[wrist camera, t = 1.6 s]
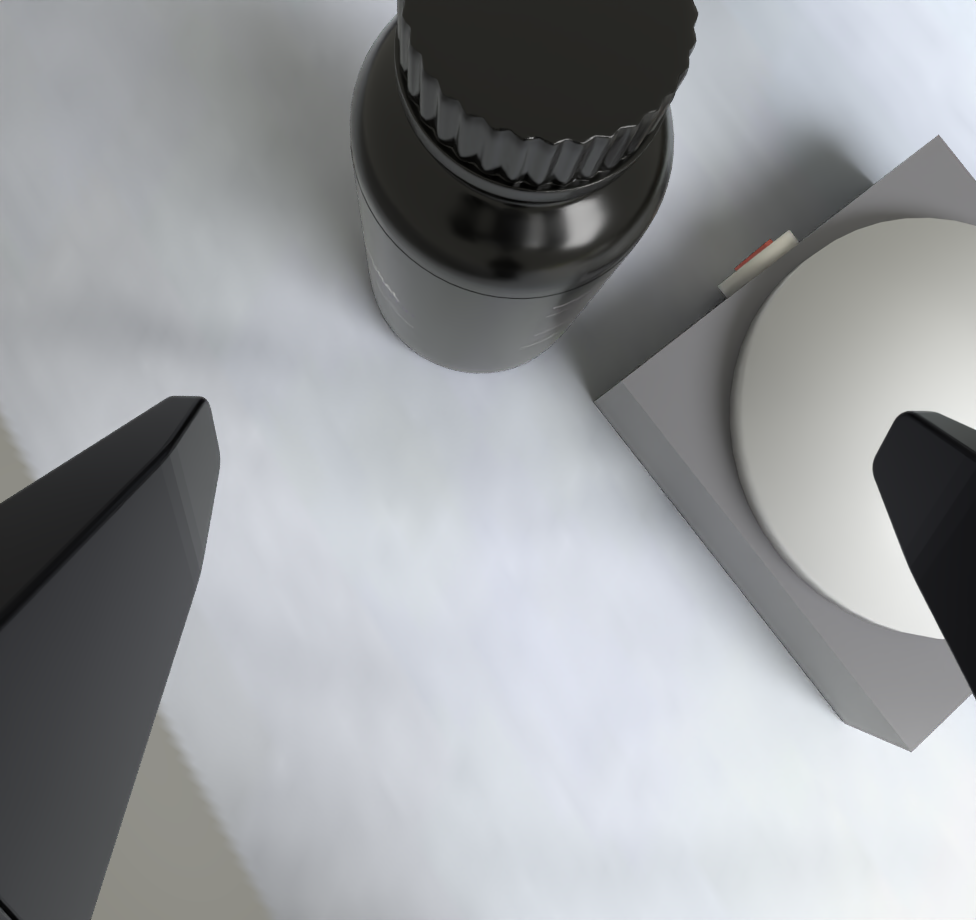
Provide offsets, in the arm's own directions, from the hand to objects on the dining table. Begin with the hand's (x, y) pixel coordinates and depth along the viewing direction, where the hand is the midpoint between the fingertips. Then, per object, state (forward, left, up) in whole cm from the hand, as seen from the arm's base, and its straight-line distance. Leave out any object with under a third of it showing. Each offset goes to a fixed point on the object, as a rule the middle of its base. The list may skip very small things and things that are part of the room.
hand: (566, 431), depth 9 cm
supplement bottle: (+4, +5, -13) cm, 15 cm away
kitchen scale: (+11, -7, -13) cm, 18 cm away
